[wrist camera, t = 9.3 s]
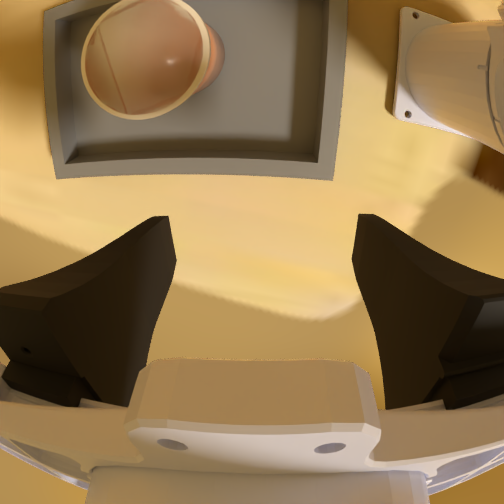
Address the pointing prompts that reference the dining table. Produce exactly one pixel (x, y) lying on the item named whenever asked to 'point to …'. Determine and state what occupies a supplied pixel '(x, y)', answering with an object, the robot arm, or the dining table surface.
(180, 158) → the serving tray
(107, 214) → the dining table surface
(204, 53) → the cup
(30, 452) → the robot arm
